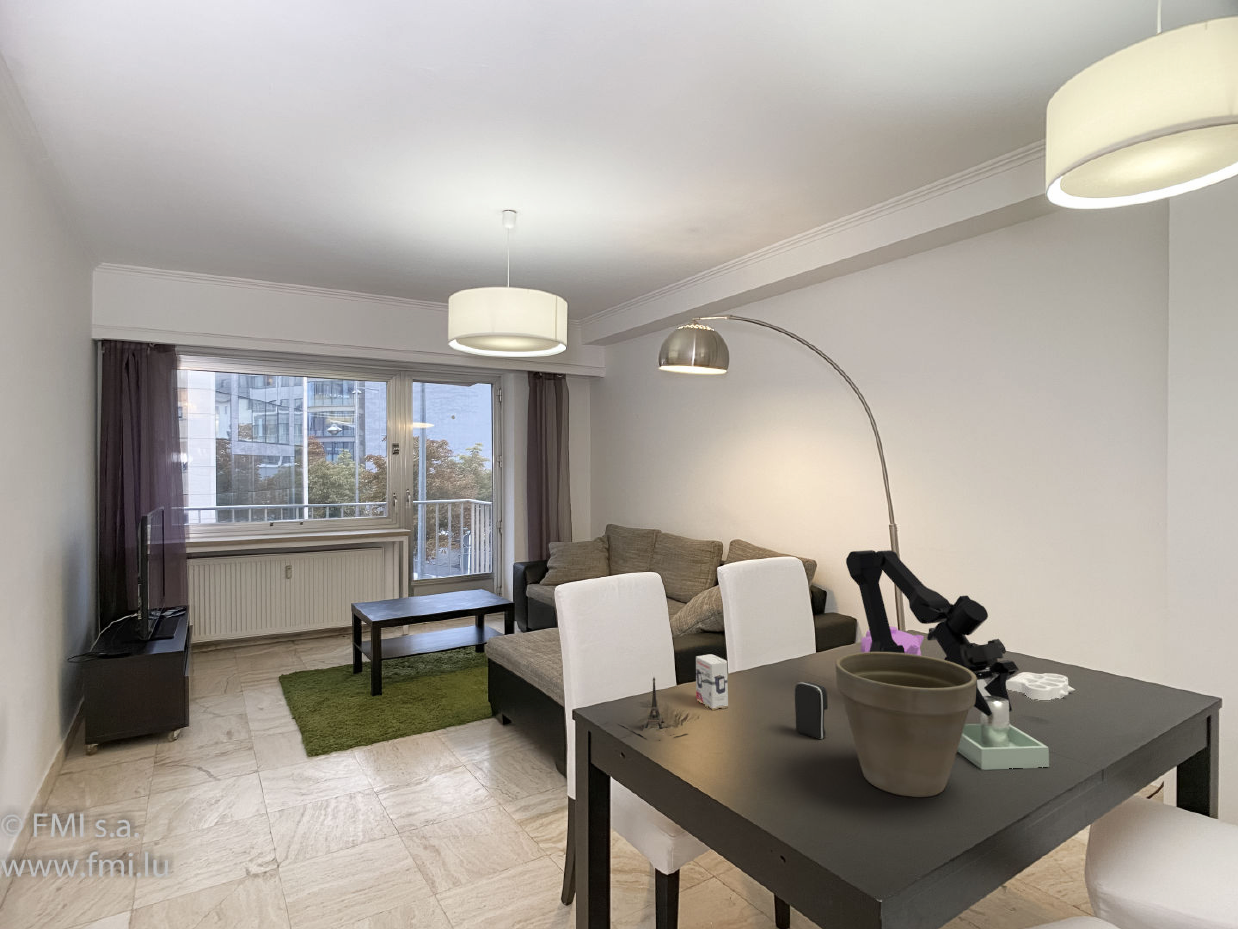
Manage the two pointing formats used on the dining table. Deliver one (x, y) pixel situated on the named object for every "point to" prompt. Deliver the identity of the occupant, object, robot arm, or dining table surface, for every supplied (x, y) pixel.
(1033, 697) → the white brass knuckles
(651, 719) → the eiffel tower figurine
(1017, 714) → the dining table surface
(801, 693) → the battery charger
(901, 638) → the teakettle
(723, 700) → the ink box
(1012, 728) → the tray
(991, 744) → the can
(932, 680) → the plant pot
